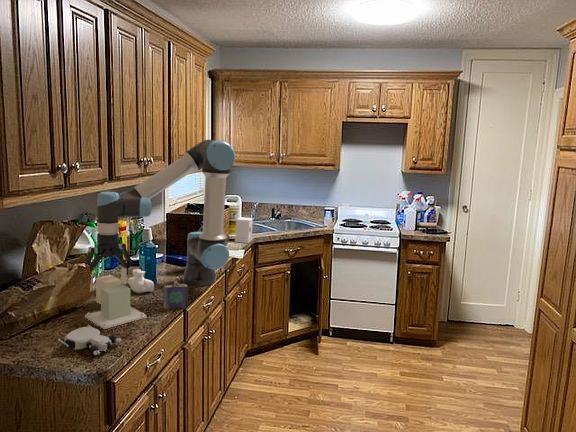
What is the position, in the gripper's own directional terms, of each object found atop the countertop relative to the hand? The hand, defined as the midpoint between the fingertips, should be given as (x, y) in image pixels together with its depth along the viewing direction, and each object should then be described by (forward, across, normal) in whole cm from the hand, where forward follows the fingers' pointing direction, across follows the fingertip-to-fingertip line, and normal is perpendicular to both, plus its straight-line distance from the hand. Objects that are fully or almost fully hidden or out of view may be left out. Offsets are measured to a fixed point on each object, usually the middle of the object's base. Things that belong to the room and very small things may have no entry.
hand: (107, 286), depth 177 cm
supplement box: (+6, -115, -46) cm, 124 cm away
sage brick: (+6, +5, +15) cm, 17 cm away
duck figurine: (+7, -16, -4) cm, 18 cm away
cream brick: (+7, 0, 0) cm, 7 cm away
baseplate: (+7, +4, +15) cm, 17 cm away
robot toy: (+8, +21, +31) cm, 38 cm away
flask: (+7, -18, +20) cm, 28 cm away
